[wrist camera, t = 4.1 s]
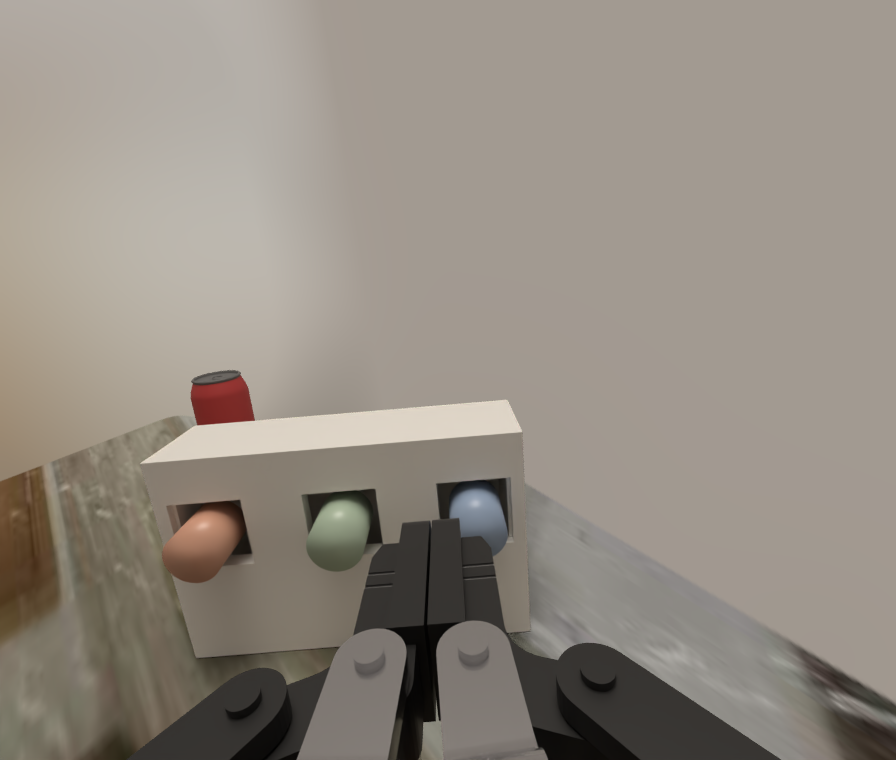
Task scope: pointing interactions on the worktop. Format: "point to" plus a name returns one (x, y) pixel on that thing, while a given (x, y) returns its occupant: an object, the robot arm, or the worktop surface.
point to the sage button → (340, 531)
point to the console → (301, 498)
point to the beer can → (221, 398)
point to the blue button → (479, 512)
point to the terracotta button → (204, 542)
